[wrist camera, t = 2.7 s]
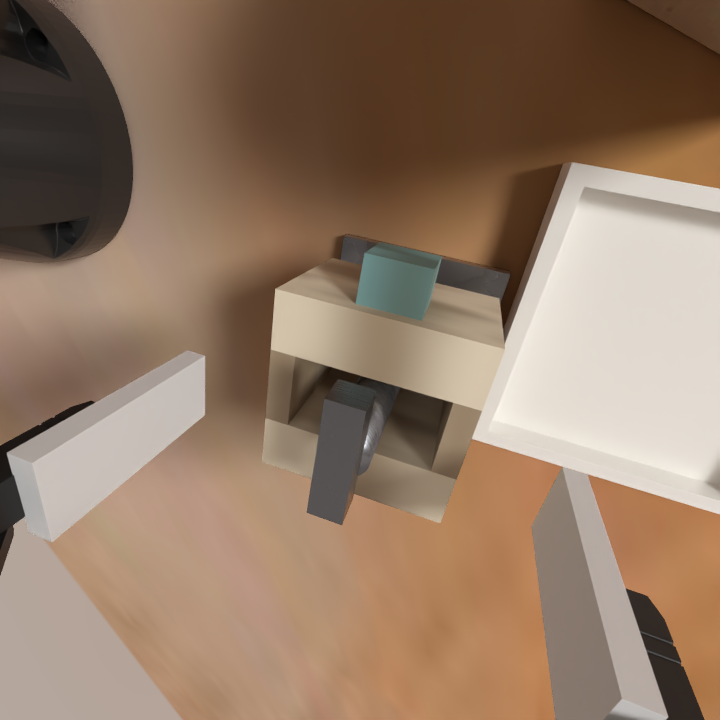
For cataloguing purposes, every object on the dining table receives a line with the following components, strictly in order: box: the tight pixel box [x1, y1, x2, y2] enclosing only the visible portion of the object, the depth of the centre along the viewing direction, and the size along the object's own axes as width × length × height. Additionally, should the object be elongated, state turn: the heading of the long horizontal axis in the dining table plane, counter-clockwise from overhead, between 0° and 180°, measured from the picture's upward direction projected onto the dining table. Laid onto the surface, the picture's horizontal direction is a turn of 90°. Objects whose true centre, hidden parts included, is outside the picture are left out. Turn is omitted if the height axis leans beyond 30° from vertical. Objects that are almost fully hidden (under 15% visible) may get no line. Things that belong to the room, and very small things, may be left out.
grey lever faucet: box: [307, 234, 510, 525], centre depth 18 cm, size 9×9×14 cm
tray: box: [472, 162, 720, 514], centre depth 20 cm, size 15×15×2 cm
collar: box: [262, 242, 505, 523], centre depth 18 cm, size 8×10×6 cm
